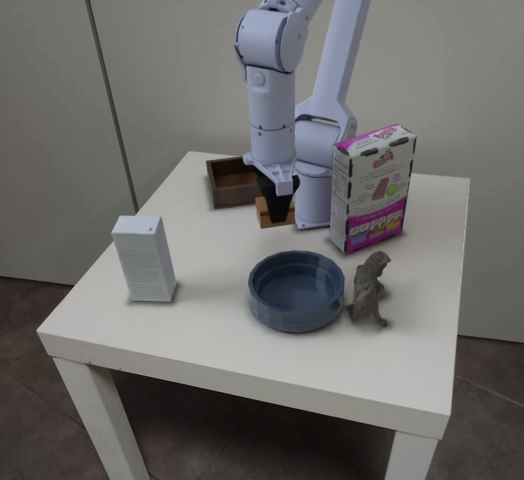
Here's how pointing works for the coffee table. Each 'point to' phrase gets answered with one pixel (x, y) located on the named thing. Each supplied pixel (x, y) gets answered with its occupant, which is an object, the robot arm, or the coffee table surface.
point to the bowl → (296, 290)
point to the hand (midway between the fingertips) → (275, 213)
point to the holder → (232, 182)
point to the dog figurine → (369, 287)
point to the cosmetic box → (145, 257)
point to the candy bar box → (370, 187)
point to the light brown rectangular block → (264, 216)
